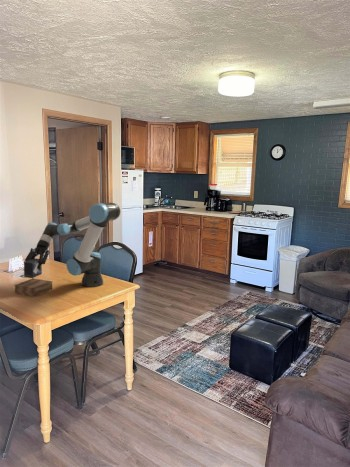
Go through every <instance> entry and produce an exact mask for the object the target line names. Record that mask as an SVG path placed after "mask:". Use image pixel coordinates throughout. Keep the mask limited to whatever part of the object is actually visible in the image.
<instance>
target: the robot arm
mask: <svg viewBox="0 0 350 467" xmlns="http://www.w3.org/2000/svg"><path fill="white" fill-rule="evenodd" d="M120 216H121V208H120V206H119V205H118V204H117V203H115V202H104V203H102V202H100V203H96V204H93V205H92V206H91V207H90V208H89V211H88V216H85V217H83V218H79V219H77V220H75V221H73V222H66V223H58V224H57V223H56V222H53V221H52V222H51V221H50V222H48V223H47V225H46V226H45V228H44V231H42V235H41V236H40V238H39V240H38V242H37V243H36V247H35V248H32V247H31V248H30V250H29V252H28V254H27V255H26V257H25V259H24V261H27V260H30V259H33V258H36V257H38V256H39V258H38V259H39V262H38V263H37V264H36V267H35V268H34V270H33V272H34V273H35V274H36V273H37V271H38V269H39V268H40V266H41V265H42V266H43V265H45V264H46V263H47V262H46V261H47V260H48V257H49V255H50V253H51V251H50V250H49V248H50V246H51V243H52V241H53V239H54V238H55V237H57V236H65V235H70V234H74V233H75V234H77V233H80V232H82V230H85V229H87V230H86V232H85V234H84V237H83V238H82V241H81V243H80V246H79V248H78V250H77V251H75V252H74V253H73V255H72V258H69V259H67V261H66V265H65V266H66V269H67V271H68V273H69V274H70V275H71V276H80V275H81V274H83V276H82V277H81V278H82V279H81V286H83V287H88V288H94V287H95V288H96V287H100V286H103V285H104V278H103V275H102V272H101V271H102V270H101V269H102V268H101V267H102V265H101V263H102V258H101V256H102V255H101V253H100V252H97V251H94V249H95V246H96V244H97V243H98V240H99V238H100V235H101V234H102V232H103V230H104V229H105V228H107V227H108V224H109V222H111V221H116V220H117V219H118V218H119V217H120ZM22 271H24V269H23V270H22Z"/></svg>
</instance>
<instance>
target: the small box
mask: <svg viewBox="0 0 350 467" xmlns="http://www.w3.org/2000/svg"><path fill="white" fill-rule="evenodd" d="M38 262H39V258H36V257H35V258H33V259H30V260H27V261H25V260H24V261H23V270H24V272H23V274H24V275H23V278H28V279H32V278H34V279H35V278H37V277H38V276H41V275H42V274H43V271H42V270H43V269H42V266H43V264H42V265H41V266H40V268H39V269H38V271H37V273H36V274H35V273H34V272H33V270H34V268H35V267H36V264H37V263H38Z"/></svg>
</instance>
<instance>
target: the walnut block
mask: <svg viewBox="0 0 350 467" xmlns="http://www.w3.org/2000/svg"><path fill="white" fill-rule="evenodd" d="M51 290H53V280H46V279H39V278H35V277H34V278H29V279H28V280H27V279H26V280H24V281H21V282H20V283H16V284H14V291H15V292H14V293H15V294H17V295H23V296H28V297H34V298H36V297H38V296H41V295H43V294H45V293H47V292H50V291H51Z"/></svg>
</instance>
